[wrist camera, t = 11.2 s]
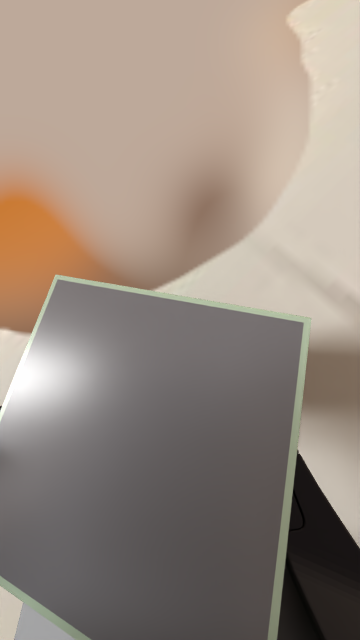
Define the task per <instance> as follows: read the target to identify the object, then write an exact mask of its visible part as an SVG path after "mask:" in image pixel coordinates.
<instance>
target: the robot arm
mask: <svg viewBox="0 0 360 640" xmlns="http://www.w3.org/2000/svg"><path fill="white" fill-rule="evenodd" d="M2 406H3V405H2ZM2 406H0V410H1V408H2ZM298 453H299V451H298V449H297V457H296V466H295V475H294V485H293V494H292V503H291V513H290V522H289V531H288V541H287V550H286V559H285V569H284V578H283V587H282V597H281V606H280V615H279V625H278V634H277V640H360V548H359V547H358V545H357V544H356V542H355V541H354V539H353V538H352V536H351V535H350V533H349V532H348V530H347V529H346V527H345V526H344V524H343V523H342V521H341V520H340V518H339V517H338V515H337V514H336V512H335V511H334V509H333V508H332V506H331V504H330V503H329V501H328V500H327V498H326V497H325V495H324V494H323V492H322V490H321V489H320V487H319V486H318V484H317V482H316V481H315V479H314V477H313V476H312V474H311V472H310V470H309V469H308V467H307V465H306V464H305V462H304V460H303V458H302V456H301V455H300V454H298Z"/></svg>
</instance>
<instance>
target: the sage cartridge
mask: <svg viewBox="0 0 360 640" xmlns="http://www.w3.org/2000/svg"><path fill="white" fill-rule="evenodd" d="M310 326H311V318H309V317H303V316H297V315H291V314H285V313H279V312H273V311H267V310H262V309H256V308H250V307H244V306H238V305H232V304H226V303H220V302H214V301H208V300H202V299H197V298H191V297H185V296H179V295H173V294H167V293H161V292H155V291H149V290H143V289H138V288H132V287H126V286H120V285H114V284H108V283H102V282H96V281H90V280H84V279H78V278H73V277H66V276H61V275H55V278H54V280H53V283H52V285H51V288H50V290H49V292H48V295H47V298H46V300H45V302H44V305H43V307H42V310H41V312H40V315H39V317H38V320H37V322H36V324H35V327H34V330H33V332H32V334H31V337H30V339H29V342H28V344H27V347H26V349H25V351H24V354H23V356H22V359H21V361H20V364H19V366H18V369H17V371H16V374H15V376H14V379H13V381H12V383H11V386H10V388H9V391H8V393H7V396H6V398H5V401H4V403H3V406H2V408H1V410H0V586H1V587H3V588H4V589H6V590H7V591H8V592H10V593H11V594H13V595H14V596H15V597H17V598H18V599H20V600H21V601H22V602H24V603H25V604H27V605H28V606H29V607H31V608H32V609H34V610H35V611H36V612H38V613H39V614H41V615H42V616H43V617H45V618H46V619H48V620H49V621H50V622H52V623H53V624H55V625H56V626H57V627H59V628H60V629H62V630H63V631H64V632H66V633H67V634H69V635H70V636H71V637H73V638H74V639H76V640H277V634H278V625H279V615H280V606H281V597H282V587H283V578H284V569H285V559H286V550H287V541H288V531H289V522H290V513H291V503H292V494H293V485H294V475H295V466H296V457H297V447H298V438H299V429H300V419H301V410H302V401H303V391H304V382H305V373H306V363H307V354H308V345H309V335H310Z"/></svg>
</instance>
